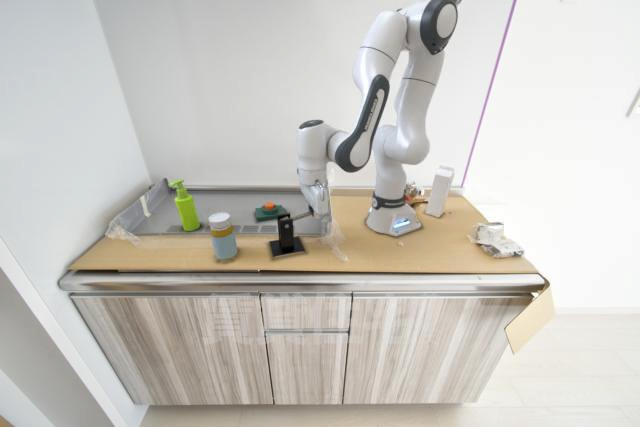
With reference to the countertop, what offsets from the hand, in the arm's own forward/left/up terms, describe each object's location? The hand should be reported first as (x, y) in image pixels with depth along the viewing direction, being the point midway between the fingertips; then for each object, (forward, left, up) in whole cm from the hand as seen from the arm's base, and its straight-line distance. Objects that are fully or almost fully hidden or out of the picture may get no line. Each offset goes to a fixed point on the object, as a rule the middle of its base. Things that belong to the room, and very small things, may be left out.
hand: (313, 213), depth 82 cm
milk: (-60, -6, -13) cm, 62 cm away
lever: (+5, 0, -2) cm, 5 cm away
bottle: (+30, -2, -13) cm, 33 cm away
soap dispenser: (+44, -25, -13) cm, 52 cm away
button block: (+12, -26, -13) cm, 31 cm away
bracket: (+10, 0, -13) cm, 16 cm away
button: (+12, -26, -9) cm, 30 cm away
